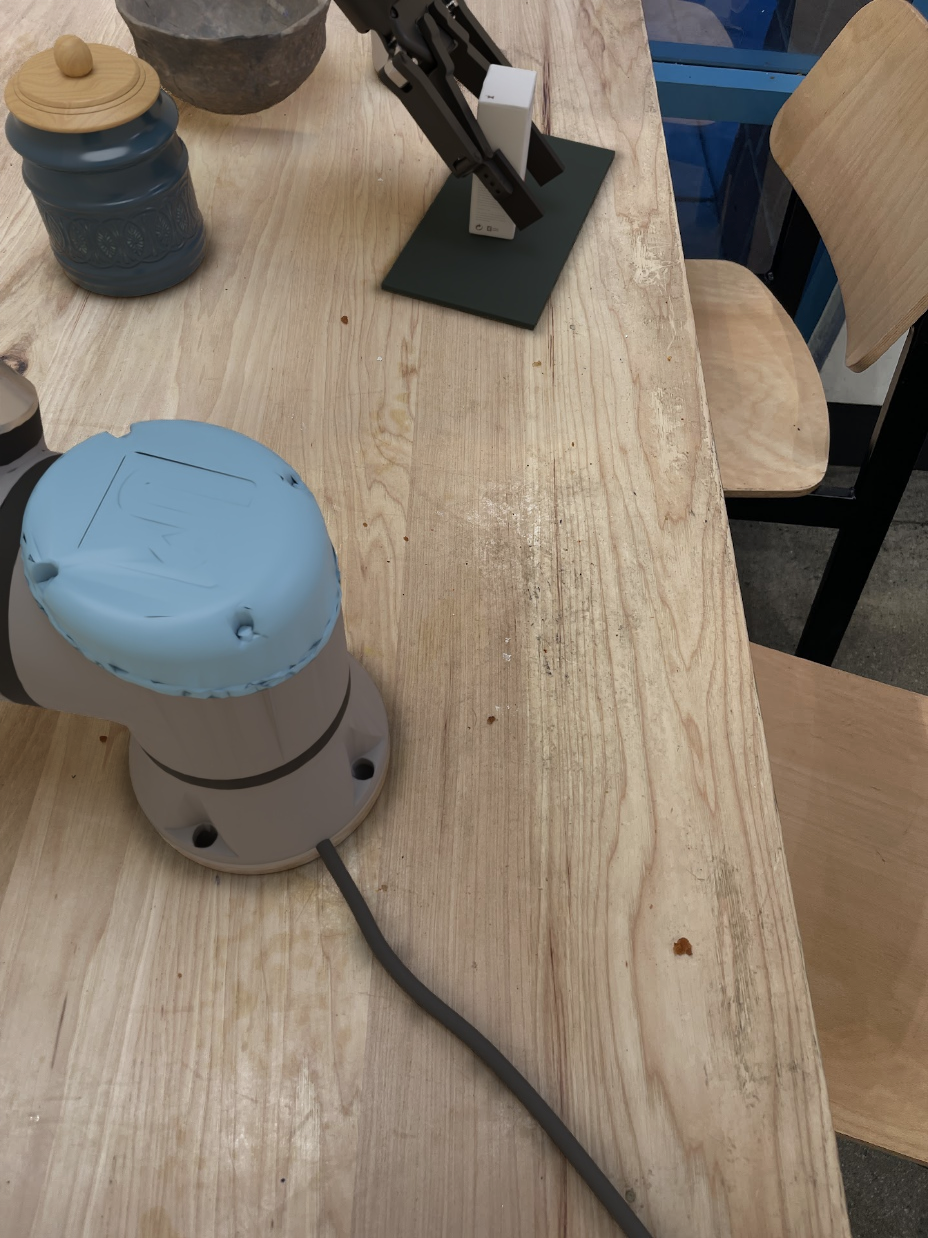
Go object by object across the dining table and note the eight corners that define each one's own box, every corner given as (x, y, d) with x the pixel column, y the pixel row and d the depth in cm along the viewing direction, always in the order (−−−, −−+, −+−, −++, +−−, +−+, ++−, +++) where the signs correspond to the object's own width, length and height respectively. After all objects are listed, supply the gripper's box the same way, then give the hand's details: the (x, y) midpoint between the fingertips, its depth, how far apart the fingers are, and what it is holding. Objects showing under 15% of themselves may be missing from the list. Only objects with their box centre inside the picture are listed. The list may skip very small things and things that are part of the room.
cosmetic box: (514, 241, 80) (528, 108, 70) (468, 234, 81) (476, 101, 70) (523, 201, 83) (538, 68, 73) (479, 194, 84) (488, 61, 73)
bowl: (184, 29, 99) (162, -78, 90) (362, 56, 97) (357, -50, 89) (108, 129, 88) (74, 18, 80) (307, 161, 87) (294, 52, 78)
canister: (36, 291, 75) (-61, 74, 60) (88, 201, 82) (13, -15, 67) (186, 308, 75) (126, 94, 60) (226, 216, 82) (181, 3, 67)
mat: (533, 330, 75) (534, 324, 75) (380, 289, 77) (380, 283, 77) (614, 156, 89) (615, 150, 89) (483, 125, 91) (484, 119, 91)
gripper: (375, -65, 75) (538, 162, 86) (282, 42, 65) (481, 282, 77) (435, -133, 70) (601, 119, 81) (344, -28, 60) (548, 241, 71)
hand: (542, 198), depth 79 cm, fingers closed on cosmetic box, 6 cm apart
